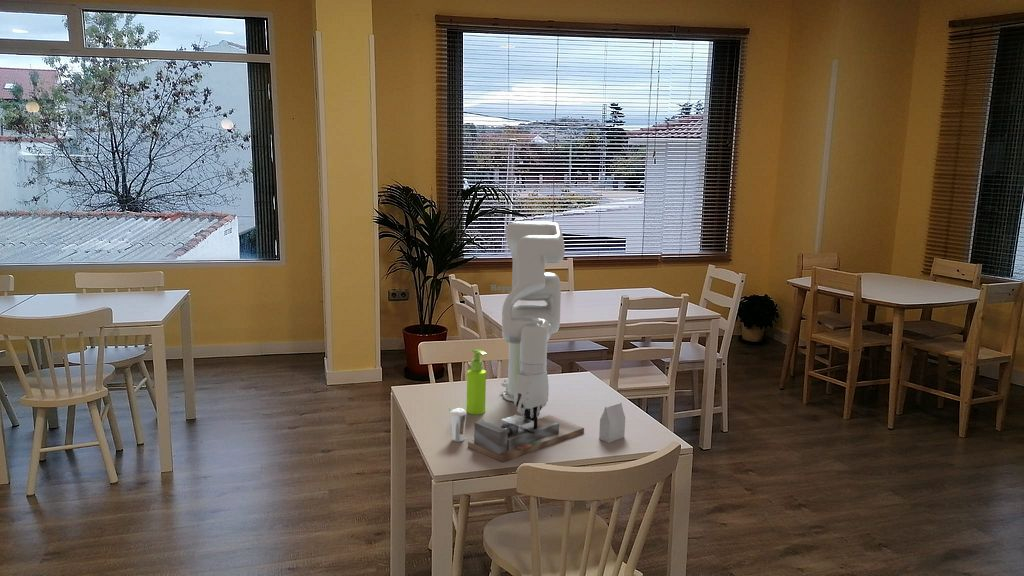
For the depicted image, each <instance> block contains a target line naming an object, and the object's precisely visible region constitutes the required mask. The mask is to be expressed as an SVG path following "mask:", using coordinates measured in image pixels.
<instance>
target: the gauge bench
mask: <svg viewBox="0 0 1024 576" xmlns="http://www.w3.org/2000/svg"><path fill="white" fill-rule="evenodd" d="M523 417H524V418H526V416H523ZM473 429H474V430H473V431H474V433H473V435H474V436H473V439H472V440H469V441H467V447H468V448H470V449H472V450H474V451H477V452H479V453H481V454H483V455H486V456H488V457H490V458H492V459H495V460H497V461H499V462H501V463H504V462H508V461H510V460H512V459H516V458H518V457H522V456H523V455H526V454H530V453H532V452H535V451H537V450H540V449H544V448H546V447H549V446H551V445H554V444H557V443H559V442H562V441H565V440H568V439H571V438H573V437H576V436H579V435H582V434H584V433H585V427H583V426H580V425H578V424H574V423H572V422H569V421H567V420H564V419H560V418H558V417H555V416H552V415H550V414H549V415H546V416H544V417H540V418H537V429H534V430H531V431H534V432H535V434H532V433H530V432H525V433H522V434H520V435H517V436H514V437H511V438H508V430H506V429H504V428H501V424H498V425H497V424H493V423H491V422H488V421H486V420H484V419H482V420H478V421H475V422H474V428H473ZM507 438H508V439H507Z"/></svg>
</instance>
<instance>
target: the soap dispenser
mask: <svg viewBox="0 0 1024 576" xmlns="http://www.w3.org/2000/svg"><path fill="white" fill-rule="evenodd" d="M471 353H473V358H472V359H471V361H470V364H471V367H470V369H468V370H467V373H466V380H467V381H466V412H467V414H471V415H482V414H484V413H486V393H487V392H486V390H487V389H486V385H487V383H486V382H487V381H486V380H487V374H486V373H487V370H485V369H483V359H480V356H486V355H488V353H487V352H485V351H484V350H482V349H479V348H476V349H471Z"/></svg>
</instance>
